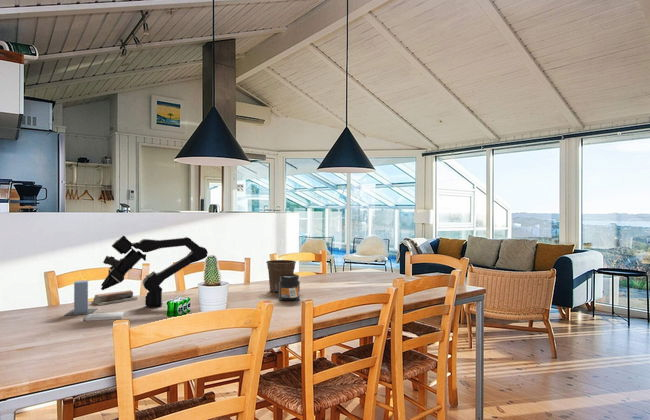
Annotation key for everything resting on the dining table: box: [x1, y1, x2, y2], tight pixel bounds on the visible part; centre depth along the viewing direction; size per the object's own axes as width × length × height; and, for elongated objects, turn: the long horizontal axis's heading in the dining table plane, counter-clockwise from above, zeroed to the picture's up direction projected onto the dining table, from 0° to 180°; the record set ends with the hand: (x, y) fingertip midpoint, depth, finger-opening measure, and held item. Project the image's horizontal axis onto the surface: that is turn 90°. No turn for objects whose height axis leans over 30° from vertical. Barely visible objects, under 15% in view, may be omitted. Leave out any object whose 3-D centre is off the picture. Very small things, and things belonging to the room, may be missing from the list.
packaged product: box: [91, 289, 139, 306], centre depth 216 cm, size 18×5×10 cm
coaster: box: [63, 308, 98, 317], centre depth 192 cm, size 10×10×1 cm
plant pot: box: [266, 259, 297, 293], centre depth 244 cm, size 16×16×16 cm
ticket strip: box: [83, 311, 126, 322], centre depth 183 cm, size 14×7×1 cm, turn 103°
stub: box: [73, 279, 89, 313], centre depth 192 cm, size 5×5×13 cm
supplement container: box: [278, 273, 301, 302], centre depth 221 cm, size 10×10×12 cm
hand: (101, 287), depth 196 cm, fingers open, 9 cm apart
